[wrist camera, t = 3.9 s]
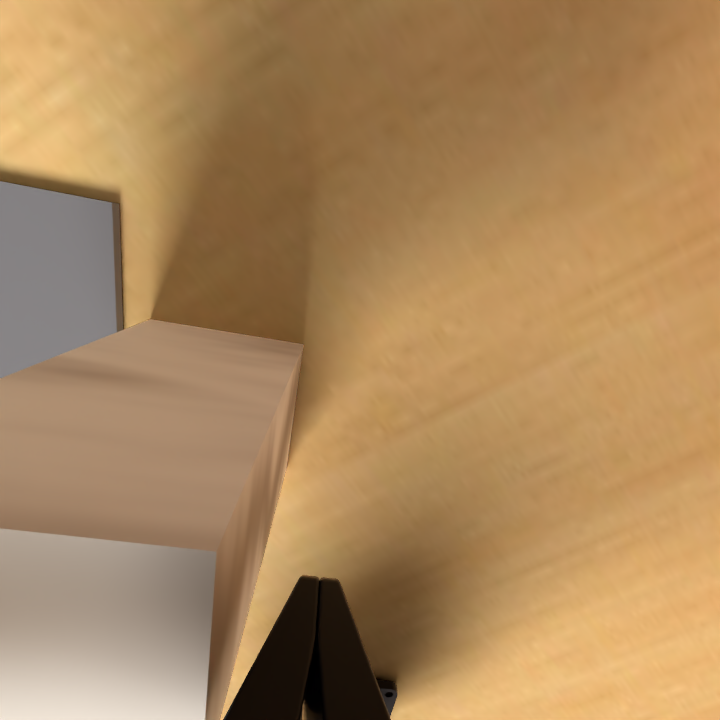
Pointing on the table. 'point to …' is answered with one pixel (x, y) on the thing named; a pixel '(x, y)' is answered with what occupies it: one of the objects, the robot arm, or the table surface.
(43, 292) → the mat
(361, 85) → the table surface
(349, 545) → the table surface
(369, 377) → the table surface
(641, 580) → the table surface
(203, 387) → the cream block
